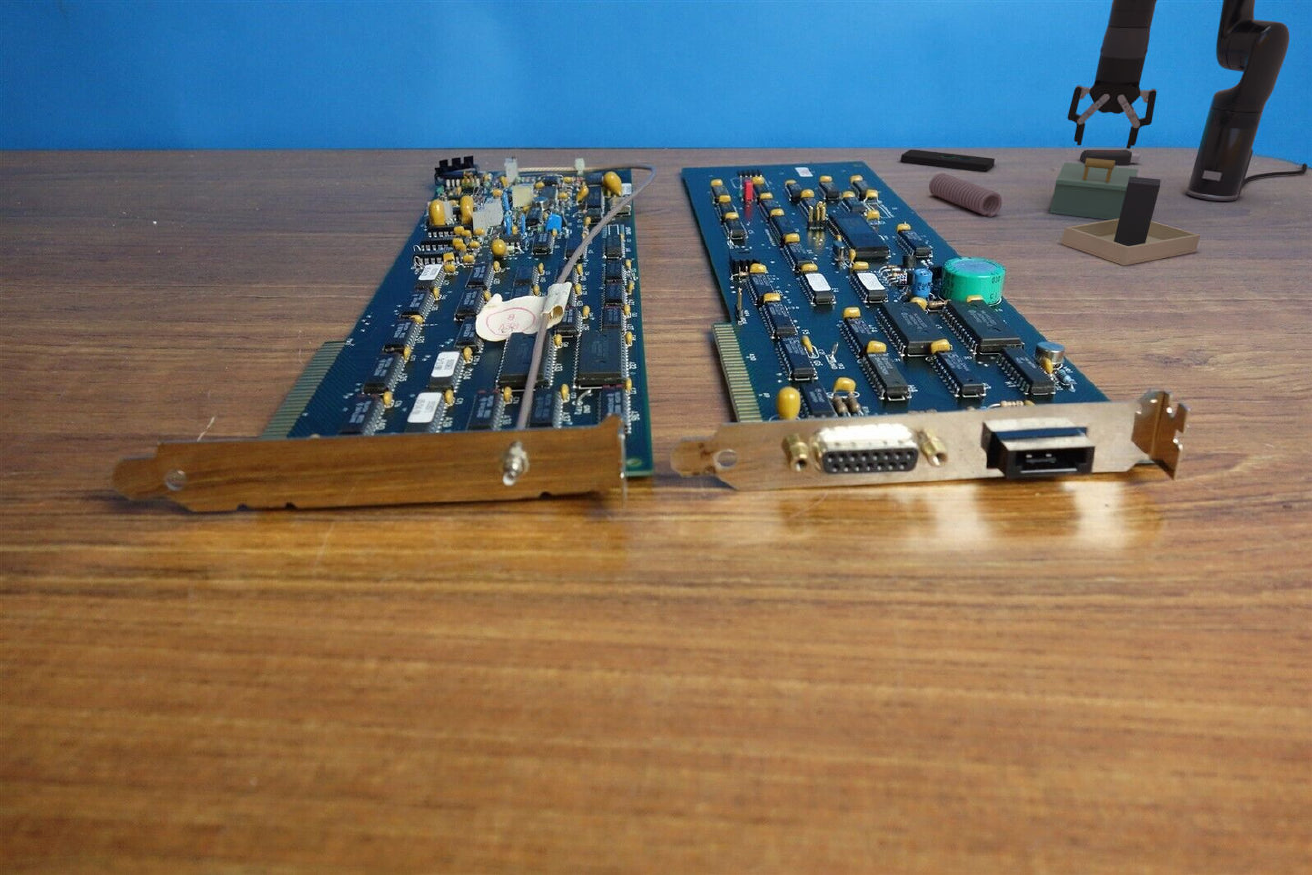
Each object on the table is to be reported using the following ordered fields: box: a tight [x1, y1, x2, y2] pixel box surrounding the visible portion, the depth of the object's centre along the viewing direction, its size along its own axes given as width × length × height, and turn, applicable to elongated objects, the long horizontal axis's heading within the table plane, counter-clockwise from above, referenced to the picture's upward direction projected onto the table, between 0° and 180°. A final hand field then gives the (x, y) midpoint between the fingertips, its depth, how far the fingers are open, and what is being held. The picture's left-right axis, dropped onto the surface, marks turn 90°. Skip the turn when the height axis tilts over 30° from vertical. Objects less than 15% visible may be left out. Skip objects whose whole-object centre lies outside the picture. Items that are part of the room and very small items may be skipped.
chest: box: [1049, 183, 1126, 221], centre depth 183 cm, size 16×14×6 cm
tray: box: [1061, 219, 1201, 266], centre depth 160 cm, size 17×13×3 cm
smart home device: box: [900, 149, 996, 173], centre depth 218 cm, size 8×2×20 cm
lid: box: [1055, 158, 1139, 191], centre depth 180 cm, size 16×14×5 cm
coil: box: [928, 172, 1003, 218], centre depth 184 cm, size 5×5×18 cm
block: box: [1114, 176, 1161, 246], centre depth 158 cm, size 5×5×11 cm
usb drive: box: [1079, 149, 1141, 166], centre depth 220 cm, size 5×12×3 cm, turn 88°
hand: (1103, 146), depth 175 cm, fingers open, 8 cm apart
